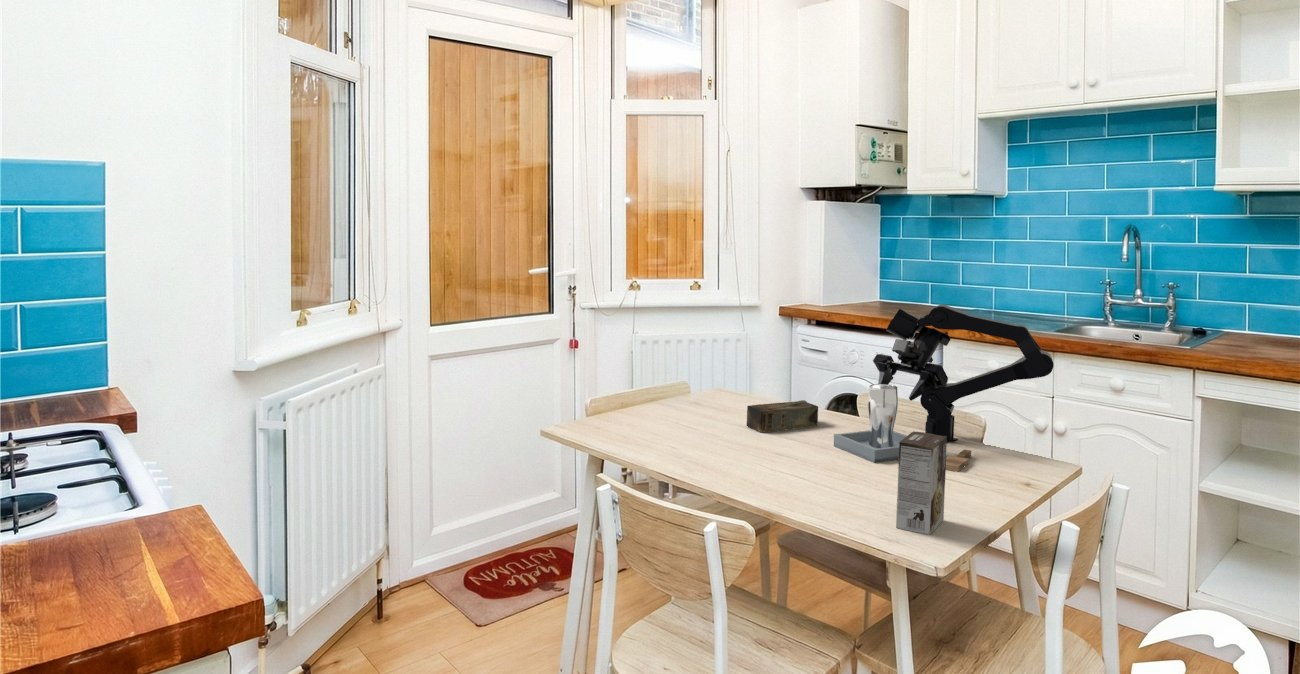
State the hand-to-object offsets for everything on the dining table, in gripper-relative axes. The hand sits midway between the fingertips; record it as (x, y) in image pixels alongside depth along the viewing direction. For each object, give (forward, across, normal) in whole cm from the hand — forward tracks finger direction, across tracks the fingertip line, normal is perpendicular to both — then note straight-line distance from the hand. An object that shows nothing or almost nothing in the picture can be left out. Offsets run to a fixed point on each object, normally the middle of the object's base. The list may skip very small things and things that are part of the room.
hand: (893, 395), depth 196 cm
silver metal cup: (+12, +1, +5) cm, 13 cm away
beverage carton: (+14, -30, +6) cm, 34 cm away
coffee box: (+38, +36, -21) cm, 56 cm away
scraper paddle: (+10, +19, +7) cm, 23 cm away
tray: (+13, +1, +5) cm, 14 cm away
